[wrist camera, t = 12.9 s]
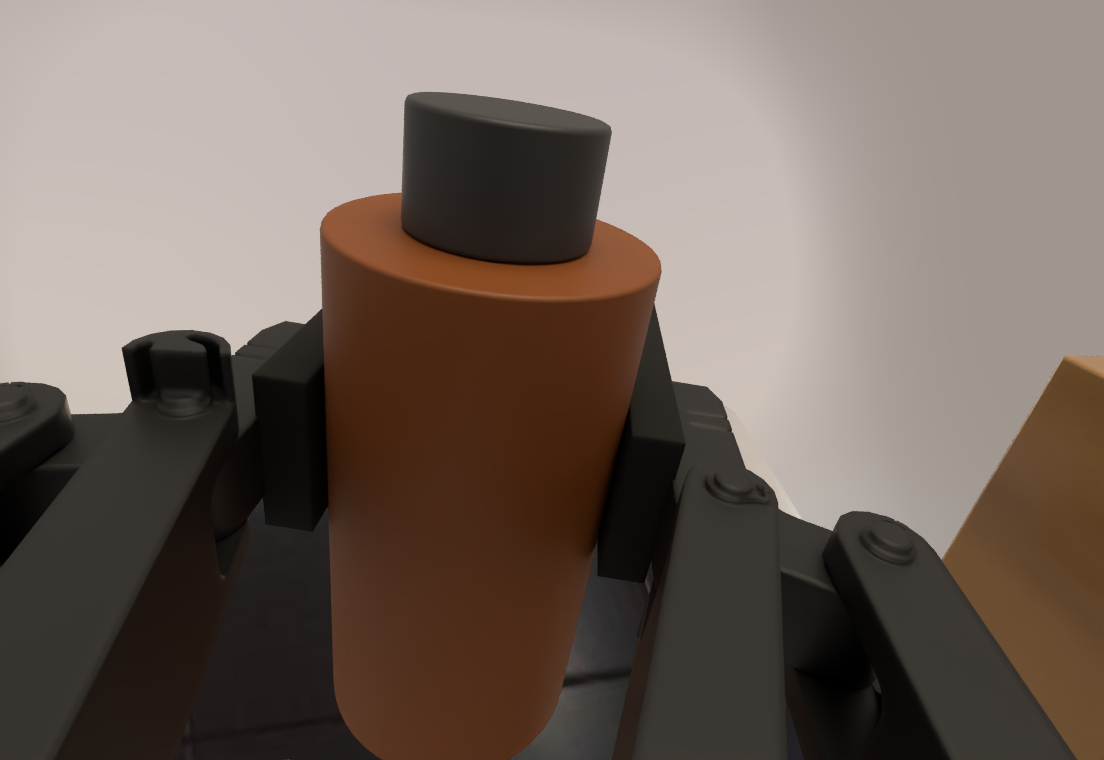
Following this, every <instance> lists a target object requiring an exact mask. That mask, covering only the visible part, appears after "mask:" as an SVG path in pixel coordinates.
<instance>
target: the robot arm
mask: <svg viewBox="0 0 1104 760" xmlns="http://www.w3.org/2000/svg"><path fill="white" fill-rule="evenodd" d="M122 352H123V357H124V362H125V367H126V372H127V377H128V382H129V386H130V392H131V397H132V402H131V403H130V404H129V406H128V407H127V408H126V410H125V411H124V412H123V413H113V414H74V415H73V414H71V413H70V409H69V406H68V402H67V398H66V395H65V394H64V393H63V392H62V391H61V390H60V389H59V388H56V387H53V386H50V385H46V384H42V383H25V382H11V384H9V383H1V384H0V760H174V759H175V756H176V753H177V750H178V747H179V744H180V741H181V738H182V736H183V733H184V730H185V727H186V724H187V721H188V718H189V715H190V713H191V710H192V707H193V704H194V701H195V698H196V695H197V692H198V689H199V687H200V684H201V681H202V678H203V675H204V672H205V669H206V666H207V664H208V661H209V658H210V655H211V652H212V649H213V646H214V643H215V640H216V638H217V635H218V632H219V629H220V626H221V623H222V620H223V617H224V615H225V612H226V609H227V606H228V603H229V600H230V597H231V594H232V592H233V589H234V586H235V583H236V580H237V577H238V574H239V571H240V568H241V566H242V563H243V560H244V557H245V554H246V551H247V548H248V545H249V543H250V522H249V515H250V514H251V512H252V511H253V510H254V508H255V507H256V505H257V504H258V503H259V501H260V500H261V499H262V497H263V501H264V512H265V522H266V524H267V525H274V526H280V527H287V528H293V529H299V530H306V531H312V532H313V530H314V529H315V527H316V525H317V524H318V522H319V520H320V518H321V517H322V515H323V513H324V512H325V510H326V508H327V507H328V476H327V443H326V410H325V377H324V344H323V311H322V309H321V310H320V311H319V312H318V313H317V314H316V315H315V316H314V317H313V318H312V319H311V320H309V321H308V322H307V323H306V324H300V323H294V322H288V321H285V322H282V323H280V324H277V325H274V326H272V327H269V328H266V329H264V330H262V331H260V332H259V333H258V334H257V335H256V336H254V337H253V338H252V339H251V340H250V341H248V343H247V345H244V346H243V347H241V348H240V349H239V350H238V351H237V352H235V355H232V356H231V347H230V344H229V343H228V342H227V341H226V340H225V339H224V338H222V337H220V336H217V335H215V334H212V333H208V332H201V331H194V330H178V331H177V330H176V331H166V332H160V333H154V334H149V335H147V336H144V337H141V338H138V339H135V340H133V341H131V342H130V343H129V344H127V345H125V346H124V347H122ZM651 560H652V569H653V578H654V580H653V583H652V587H651V590H650V593H649V596H648V599H647V603H646V606H645V609H644V612H643V616H642V619H641V622H640V625H639V629H638V632H637V635H636V636H637V637H639V639H638V644H637V648H636V653H635V657H634V662H633V666H632V671H631V675H630V680H629V684H628V689H627V693H626V698H625V703H624V707H623V712H622V716H621V721H620V725H619V730H618V734H617V739H616V743H615V748H614V752H613V757H612V760H787V734H786V707H785V696H786V700H787V703H788V706H789V710H790V713H791V716H792V720H793V723H794V727H795V730H796V733H797V737H798V740H799V743H800V747H801V750H802V753H803V757H804V760H1077V758H1076V757H1075V755H1074V754H1073V753H1072V751H1071V750H1070V748H1069V747H1068V745H1067V744H1066V742H1065V741H1064V739H1063V738H1062V736H1061V735H1060V733H1059V732H1058V731H1057V729H1056V728H1055V726H1054V725H1053V723H1052V722H1051V720H1050V719H1049V717H1048V716H1047V714H1046V713H1045V711H1044V710H1043V709H1042V707H1041V706H1040V704H1039V703H1038V701H1037V700H1036V698H1035V697H1034V695H1033V694H1032V692H1031V691H1030V689H1029V688H1028V687H1027V685H1026V684H1025V682H1024V681H1023V679H1022V678H1021V676H1020V675H1019V673H1018V672H1017V670H1016V669H1015V667H1014V666H1013V665H1012V663H1011V662H1010V660H1009V659H1008V657H1007V656H1006V654H1005V653H1004V651H1003V650H1002V648H1001V647H1000V645H999V644H998V643H997V641H996V640H995V638H994V637H993V635H992V634H991V632H990V631H989V629H988V628H987V626H986V625H985V623H984V622H983V621H982V619H981V618H980V616H979V615H978V613H977V612H976V610H975V609H974V607H973V606H972V604H971V603H970V601H969V600H968V599H967V597H966V596H965V594H964V593H963V591H962V590H961V588H960V587H959V585H958V584H957V582H956V581H955V579H954V578H953V577H952V575H951V574H950V572H949V571H948V569H947V568H946V566H945V565H944V563H943V562H942V560H941V559H940V558H939V556H938V555H937V553H936V552H935V550H934V549H933V548H932V547H931V546H930V545H929V544H928V543H927V542H926V541H925V540H924V539H923V538H922V537H921V536H919V535H918V534H917V533H915V532H914V531H913V530H911V529H910V528H908V527H907V526H906V525H904V524H902V523H900V522H898V521H895V520H894V519H892V518H889V517H886V516H882V515H878V514H875V513H871V512H859V511H852V512H849V513H847V514H844V515H842V516H840V518H839V520H838V522H837V524H836V525H835V528H834V530H833V531H831V530H828V529H825V528H823V527H820V526H817V525H814V524H812V523H808V522H806V521H803V520H801V519H798V518H796V517H794V516H791V515H789V514H787V513H785V512H783V511H781V510H780V509H778V501H777V498H776V495H775V492H774V491H773V489H772V488H771V487H770V486H769V485H768V484H767V483H766V482H765V481H764V480H763V479H762V478H760V477H759V476H757V475H756V474H754V473H753V472H751V471H749V470H747V469H746V468H745V465H744V462H743V459H742V457H741V454H740V451H739V448H738V445H737V442H736V440H735V437H734V434H733V433H732V428H731V425H730V423H729V420H727V414H726V411H725V409H724V406H723V403H722V401H721V400H720V399H719V398H718V397H717V396H716V395H715V394H714V393H713V392H712V391H710V389H709V388H708V387H705V386H698V385H692V384H686V383H680V382H673V381H672V380H671V376H670V371H669V367H668V362H667V358H666V353H665V349H664V344H663V340H662V336H661V331H660V327H659V322H658V318H657V313H656V309H655V304H654V305H653V309H652V313H651V318H650V322H649V326H648V330H647V334H646V339H645V343H644V347H643V351H642V355H641V359H640V364H639V368H638V372H637V376H636V380H635V384H634V389H633V393H632V397H631V401H630V405H629V409H628V414H627V418H626V422H625V426H624V430H623V434H622V439H621V443H620V447H619V451H618V455H617V459H616V464H615V468H614V472H613V476H612V480H611V484H610V489H609V493H608V497H607V501H606V505H605V510H604V514H603V518H602V522H601V526H600V530H599V535H598V576H600V577H607V578H613V579H619V580H626V581H632V582H639V583H644V582H645V579H646V575H647V572H648V569H649V565H650V562H651Z"/></svg>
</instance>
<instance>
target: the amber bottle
mask: <svg viewBox="0 0 1104 760" xmlns="http://www.w3.org/2000/svg"><path fill="white" fill-rule="evenodd" d="M404 110H405V111H404V140H403V171H402V193H392V194H384V195H376V196H370V197H366V198H361V199H357V200H353V201H350V202H347V203H344V204H342V205H340V206H338V207H335V208H334V209H333V210H331V211H330V212H328V213H327V215H326V216H325V217H324V218H323V220H322V223H321V227H320V245H321V278H322V311H323V344H324V377H325V410H326V443H327V476H328V509H329V542H330V574H331V607H332V640H333V673H334V688H335V696H336V700H337V704H338V707H339V710H340V712H341V715H342V717H343V719H344V721H345V723H346V725H347V726H348V728H349V729H350V730H351V732H352V733H353V735H354V736H355V737H356V738H357V739H358V740H359V741H360V742H361V744H362V745H363V746H364V747H365V748H367V749H368V750H369V751H371V752H372V753H373V754H374V755H376V756H377V757H378V758H380V759H382V760H508V759H510V758H511V757H513V756H515V755H516V754H518V753H519V752H521V751H522V750H523V749H524V748H525V747H527V746H528V745H529V744H530V743H531V742H532V741H533V740H534V739H535V738H536V737H537V736H538V735H539V734H540V732H541V731H542V730H543V729H544V727H545V726H546V724H547V723H548V721H549V720H550V718H551V716H552V714H553V712H554V710H555V708H556V706H557V703H558V700H559V696H560V693H561V689H562V685H563V681H564V676H565V672H566V668H567V664H568V660H569V655H570V651H571V647H572V643H573V639H574V635H575V630H576V626H577V622H578V618H579V614H580V610H581V605H582V601H583V597H584V593H585V589H586V585H587V580H588V576H589V572H590V568H591V564H592V560H593V555H594V551H595V547H596V543H597V539H598V535H599V530H600V526H601V522H602V518H603V514H604V510H605V505H606V501H607V497H608V493H609V489H610V484H611V480H612V476H613V472H614V468H615V464H616V459H617V455H618V451H619V447H620V443H621V439H622V434H623V430H624V426H625V422H626V418H627V414H628V409H629V405H630V401H631V397H632V393H633V389H634V384H635V380H636V376H637V372H638V368H639V364H640V359H641V355H642V351H643V347H644V343H645V339H646V334H647V330H648V326H649V322H650V318H651V313H652V309H653V305H654V301H655V297H656V292H657V288H658V284H659V280H660V275H661V263H660V260H659V258H658V256H657V255H656V253H655V252H654V251H653V250H652V249H651V248H650V247H649V246H647V245H646V244H645V243H644V242H642V241H641V240H639V239H638V238H636V237H634V236H633V235H631V234H629V233H627V232H625V231H623V230H621V229H619V228H617V227H615V226H612V225H610V224H608V223H605V222H602V221H600V220H597V219H596V217H597V211H598V206H599V200H600V195H601V189H602V184H603V178H604V173H605V167H606V161H607V156H608V150H609V145H610V139H611V133H612V132H611V127H610V126H609V125H607V124H606V123H604V122H603V121H600V120H598V119H595V118H592V117H589V116H586V115H582V114H578V113H575V112H570V111H566V110H561V109H557V108H552V107H547V106H542V105H537V104H531V103H525V102H519V101H513V100H506V99H500V98H492V97H485V96H477V95H467V94H457V93H442V92H419V93H413V94H410V95H408V96H407V97H406V100H405V108H404Z"/></svg>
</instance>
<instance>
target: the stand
mask: <svg viewBox="0 0 1104 760" xmlns="http://www.w3.org/2000/svg"><path fill="white" fill-rule="evenodd" d="M942 562H943V563H944V565H945V566H946V568H947V569H948V571H949V572H950V574H951V575H952V577H953V578H954V579H955V581H956V582H957V584H958V585H959V587H960V588H961V590H962V591H963V593H964V594H965V596H966V597H967V599H968V600H969V601H970V603H971V604H972V606H973V607H974V609H975V610H976V612H977V613H978V615H979V616H980V618H981V619H982V621H983V622H984V623H985V625H986V626H987V628H988V629H989V631H990V632H991V634H992V635H993V637H994V638H995V640H996V641H997V643H998V644H999V645H1000V647H1001V648H1002V650H1003V651H1004V653H1005V654H1006V656H1007V657H1008V659H1009V660H1010V662H1011V663H1012V665H1013V666H1014V667H1015V669H1016V670H1017V672H1018V673H1019V675H1020V676H1021V678H1022V679H1023V681H1024V682H1025V684H1026V685H1027V687H1028V688H1029V689H1030V691H1031V692H1032V694H1033V695H1034V697H1035V698H1036V700H1037V701H1038V703H1039V704H1040V706H1041V707H1042V709H1043V710H1044V711H1045V713H1046V714H1047V716H1048V717H1049V719H1050V720H1051V722H1052V723H1053V725H1054V726H1055V728H1056V729H1057V731H1058V732H1059V733H1060V735H1061V736H1062V738H1063V739H1064V741H1065V742H1066V744H1067V745H1068V747H1069V748H1070V750H1071V751H1072V753H1073V754H1074V755H1075V757H1076V758H1077V760H1104V356H1064V357H1063V358H1062V359H1061V360H1060V362H1059V364H1058V366H1057V367H1056V369H1055V371H1054V372H1053V374H1052V376H1051V377H1050V379H1049V381H1048V382H1047V384H1046V386H1045V387H1044V389H1043V391H1042V392H1041V394H1040V396H1039V398H1038V399H1037V401H1036V402H1035V404H1034V406H1033V407H1032V409H1031V411H1030V412H1029V414H1028V416H1027V417H1026V419H1025V421H1024V422H1023V424H1022V426H1021V428H1020V429H1019V431H1018V432H1017V434H1016V436H1015V438H1014V439H1013V441H1012V443H1011V444H1010V446H1009V448H1008V449H1007V451H1006V453H1005V454H1004V456H1003V458H1002V459H1001V461H1000V463H999V464H998V466H997V468H996V470H995V471H994V473H993V474H992V476H991V478H990V480H989V481H988V483H987V484H986V486H985V488H984V490H983V491H982V493H981V495H980V496H979V498H978V500H977V501H976V503H975V505H974V506H973V508H972V510H971V511H970V513H969V515H968V516H967V518H966V520H965V521H964V523H963V525H962V527H961V528H960V530H959V532H958V533H957V535H956V536H955V538H954V540H953V542H952V543H951V545H950V547H949V548H948V550H947V552H946V553H945V555H944V557H943V558H942Z"/></svg>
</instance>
